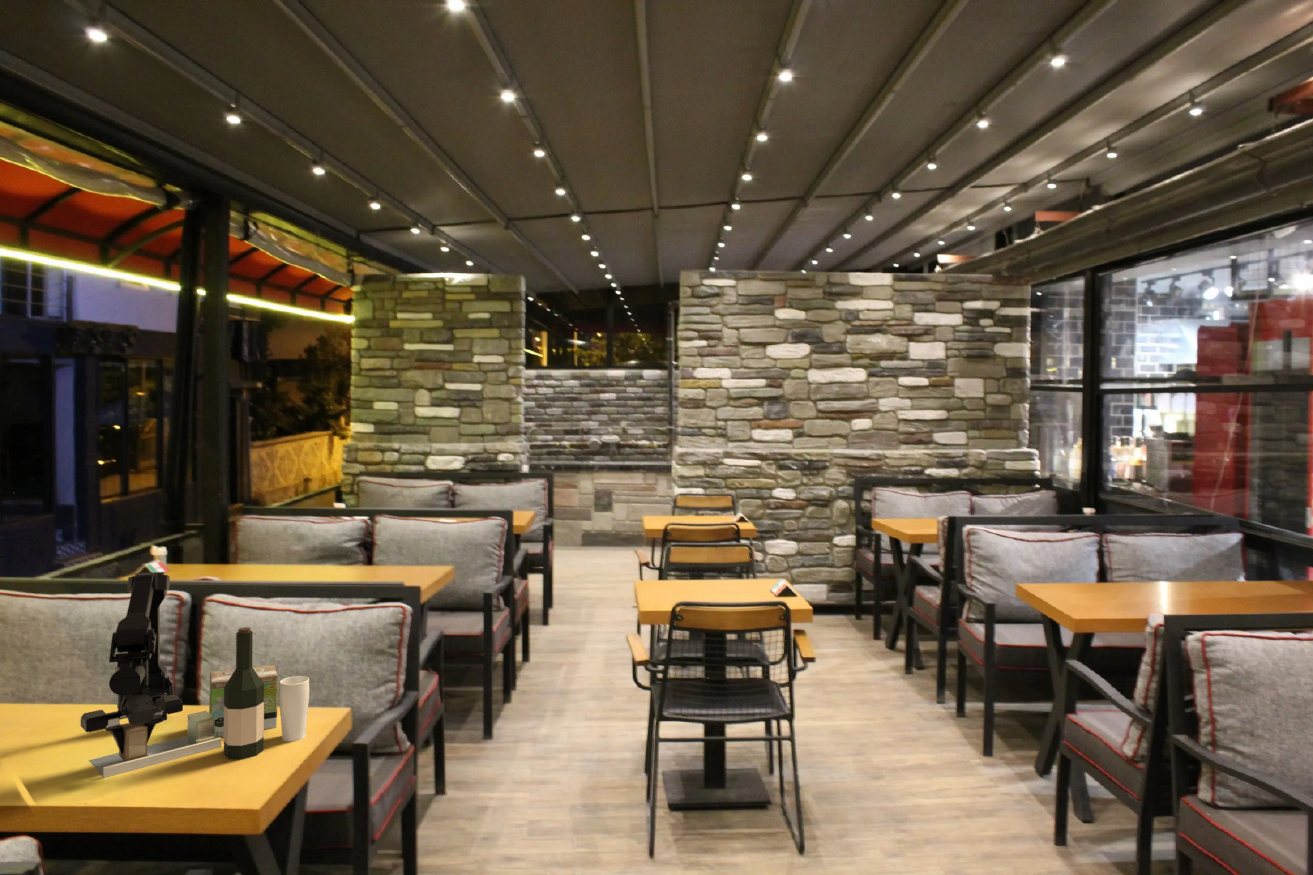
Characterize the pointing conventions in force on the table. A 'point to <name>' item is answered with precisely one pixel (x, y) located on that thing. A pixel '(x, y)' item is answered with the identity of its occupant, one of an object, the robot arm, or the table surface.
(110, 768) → the display board
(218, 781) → the table surface
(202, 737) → the sage tin
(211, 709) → the tea box
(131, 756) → the block
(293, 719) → the drinking glass
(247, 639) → the wine bottle
